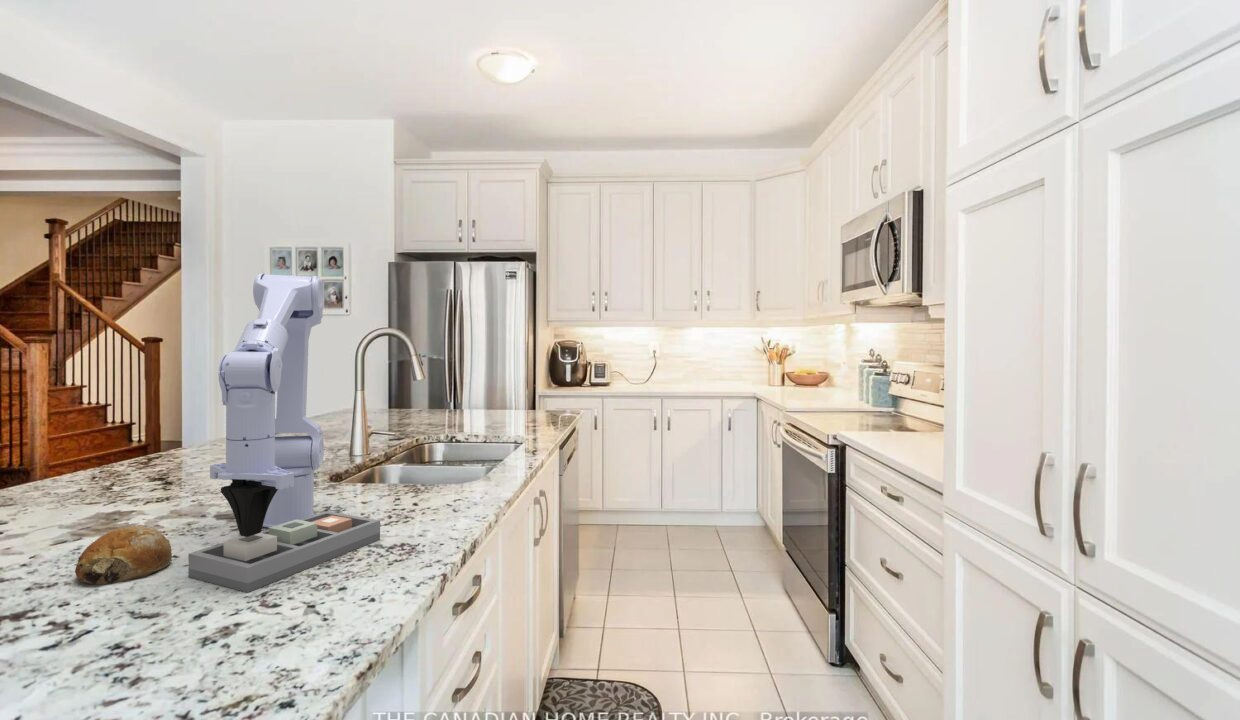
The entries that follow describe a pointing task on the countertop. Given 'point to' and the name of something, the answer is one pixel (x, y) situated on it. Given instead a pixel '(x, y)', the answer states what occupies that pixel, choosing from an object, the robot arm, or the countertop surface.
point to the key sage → (294, 531)
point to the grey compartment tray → (281, 556)
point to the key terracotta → (334, 523)
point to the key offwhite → (250, 546)
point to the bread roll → (124, 556)
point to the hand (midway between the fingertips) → (250, 534)
